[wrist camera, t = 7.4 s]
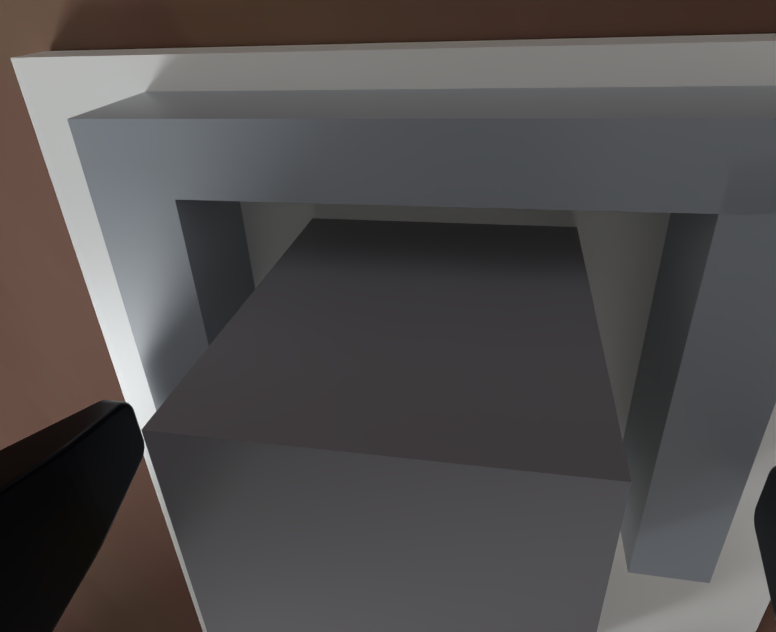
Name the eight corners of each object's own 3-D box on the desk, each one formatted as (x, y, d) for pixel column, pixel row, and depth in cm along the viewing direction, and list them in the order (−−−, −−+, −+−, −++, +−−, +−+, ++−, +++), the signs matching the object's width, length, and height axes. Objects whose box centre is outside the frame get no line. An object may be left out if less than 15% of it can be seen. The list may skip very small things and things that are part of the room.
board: (685, 734, 16) (727, 930, 13) (230, 654, 18) (168, 802, 15) (981, 27, 7) (1347, 81, 4) (46, 51, 10) (-191, 96, 6)
